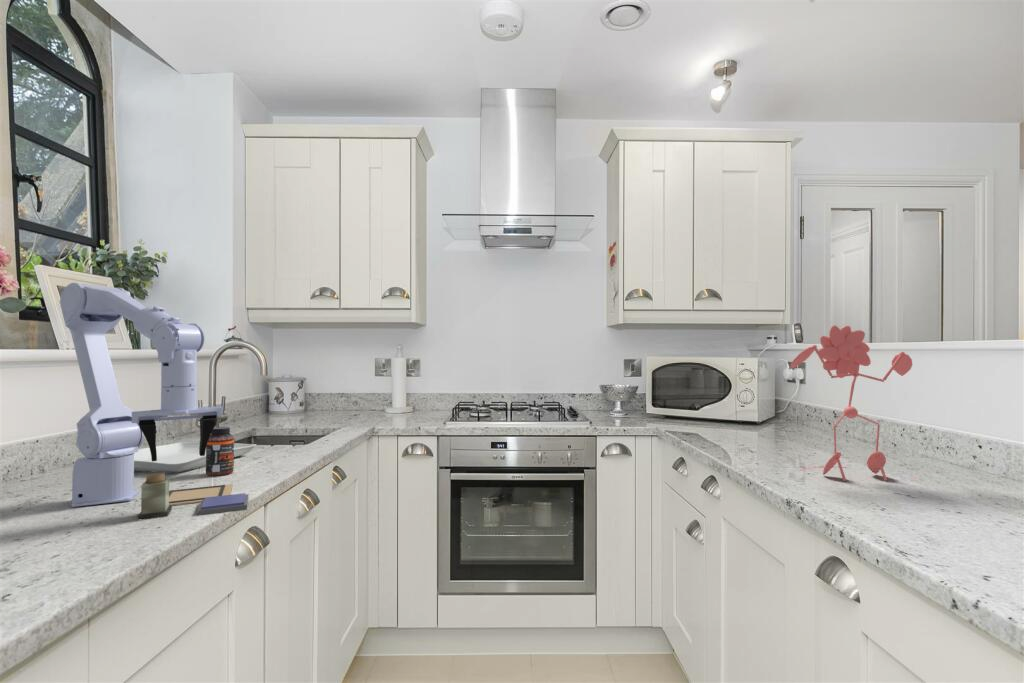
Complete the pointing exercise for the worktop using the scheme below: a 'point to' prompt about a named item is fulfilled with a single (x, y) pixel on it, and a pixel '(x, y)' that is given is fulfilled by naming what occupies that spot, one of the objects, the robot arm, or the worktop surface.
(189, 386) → the robot arm
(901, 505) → the worktop surface
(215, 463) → the supplement bottle
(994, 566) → the worktop surface
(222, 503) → the ink pad
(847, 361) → the figurine
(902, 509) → the worktop surface
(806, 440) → the worktop surface
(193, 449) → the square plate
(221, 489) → the sheet
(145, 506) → the stamp
